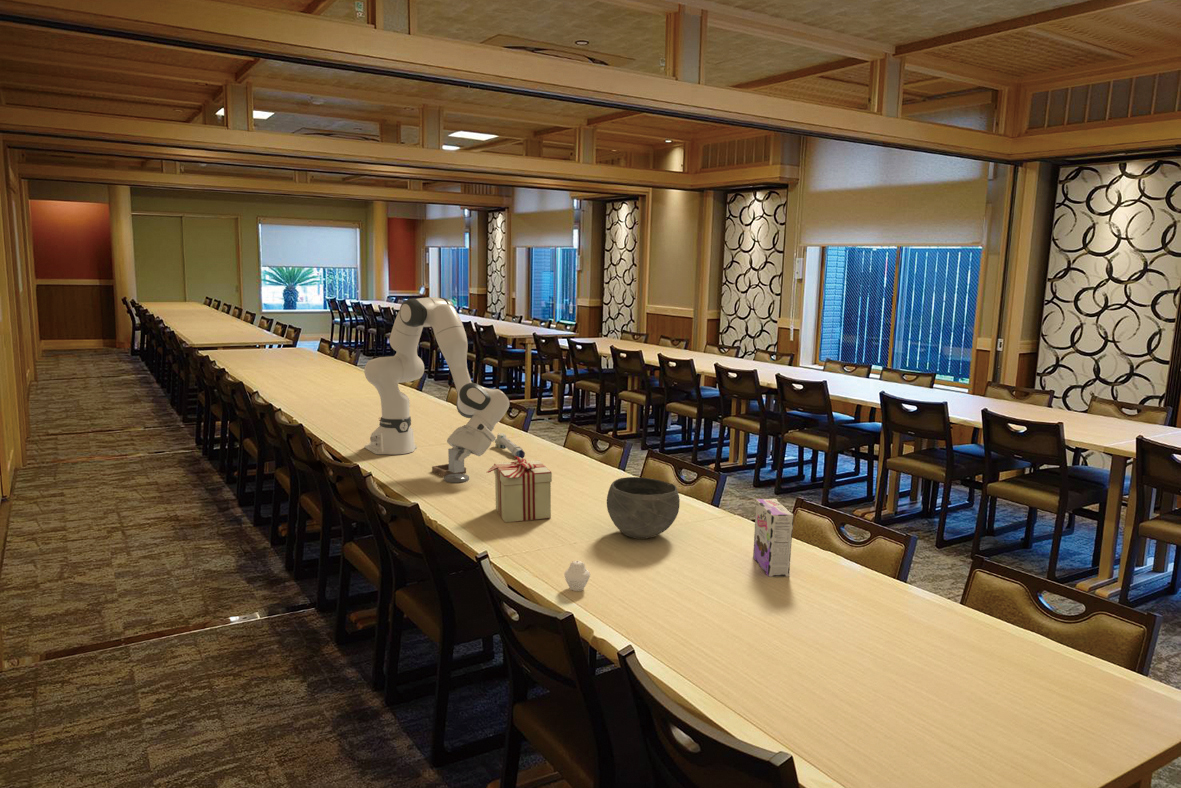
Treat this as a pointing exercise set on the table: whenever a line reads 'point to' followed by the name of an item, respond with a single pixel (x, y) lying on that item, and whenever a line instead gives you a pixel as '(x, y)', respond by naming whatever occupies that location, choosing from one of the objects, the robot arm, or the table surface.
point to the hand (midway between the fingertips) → (454, 459)
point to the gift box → (522, 490)
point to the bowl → (642, 506)
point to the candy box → (773, 537)
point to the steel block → (455, 460)
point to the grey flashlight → (508, 445)
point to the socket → (444, 470)
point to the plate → (456, 478)
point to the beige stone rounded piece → (577, 576)
